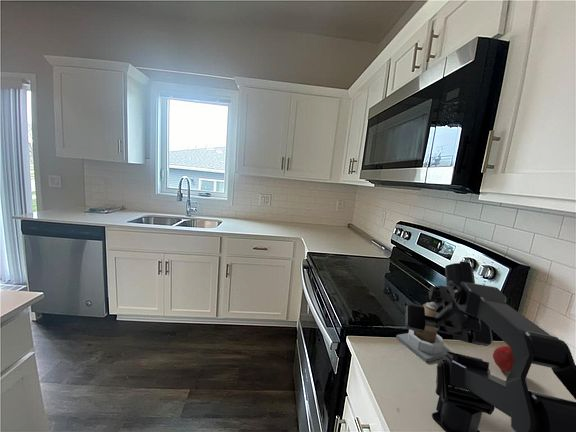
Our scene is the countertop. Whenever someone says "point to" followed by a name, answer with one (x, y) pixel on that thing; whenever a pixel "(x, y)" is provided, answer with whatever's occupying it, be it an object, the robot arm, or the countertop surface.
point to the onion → (503, 358)
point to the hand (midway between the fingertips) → (435, 332)
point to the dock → (422, 354)
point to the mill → (428, 332)
